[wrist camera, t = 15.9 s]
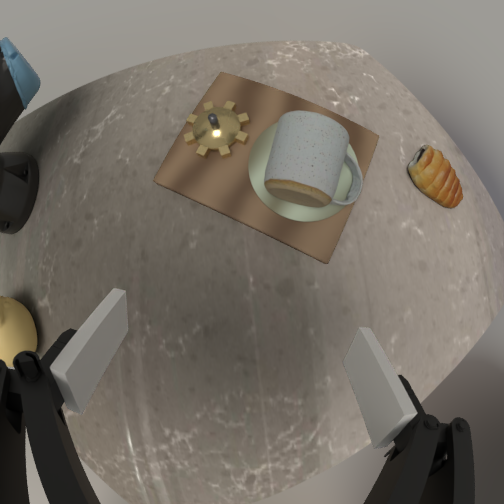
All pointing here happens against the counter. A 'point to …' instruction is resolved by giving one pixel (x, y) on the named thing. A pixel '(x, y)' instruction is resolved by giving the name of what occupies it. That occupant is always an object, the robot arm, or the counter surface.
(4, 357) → the sculpture
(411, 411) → the robot arm
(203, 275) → the counter surface
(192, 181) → the gear board
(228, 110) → the gear
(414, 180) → the pastry
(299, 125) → the ceramic mug
